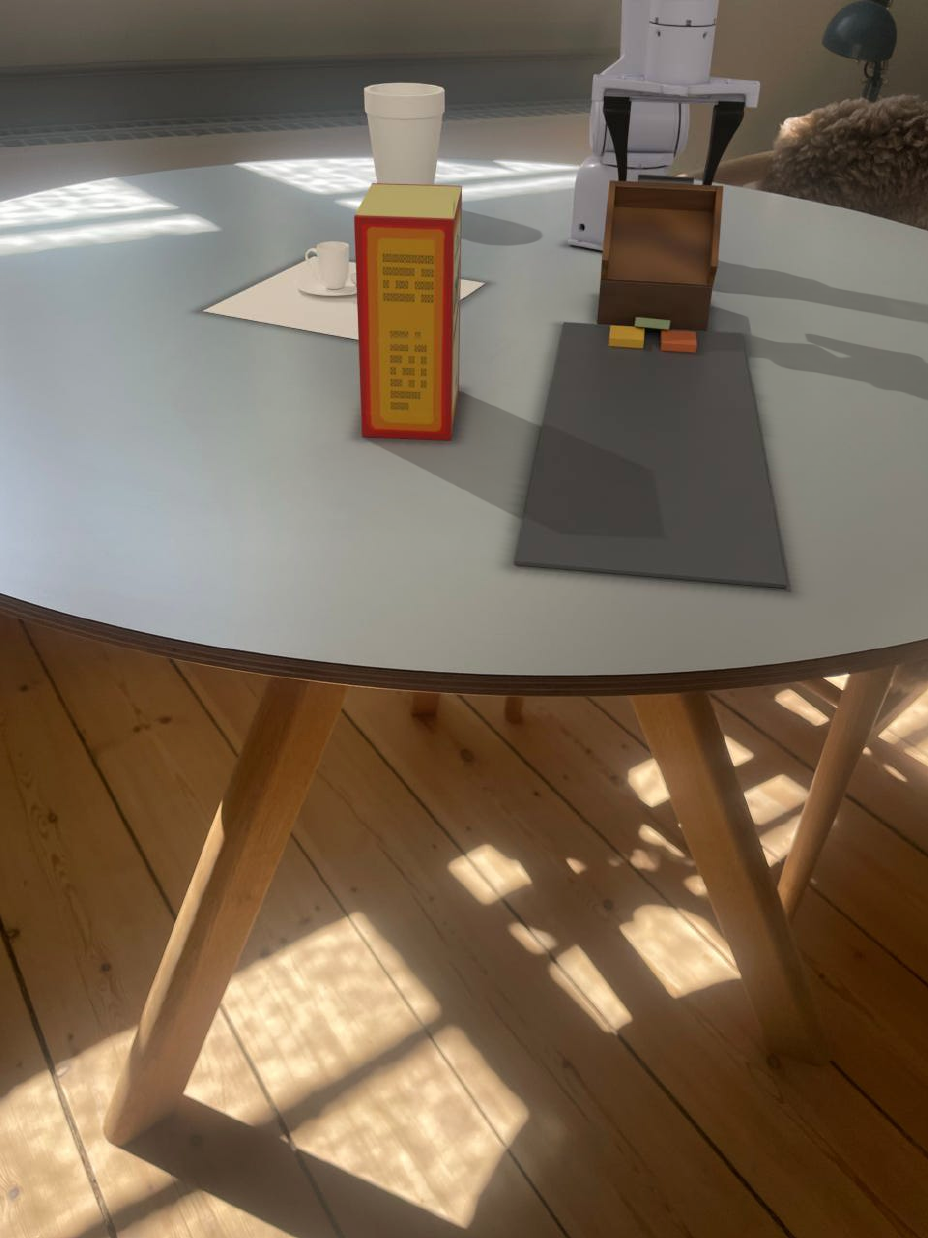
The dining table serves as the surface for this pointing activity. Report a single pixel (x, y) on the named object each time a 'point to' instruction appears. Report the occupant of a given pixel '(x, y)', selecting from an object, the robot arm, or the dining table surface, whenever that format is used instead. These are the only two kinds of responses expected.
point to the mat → (651, 464)
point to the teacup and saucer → (309, 295)
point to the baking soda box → (409, 309)
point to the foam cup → (405, 130)
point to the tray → (662, 231)
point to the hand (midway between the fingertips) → (663, 187)
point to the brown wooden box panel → (654, 303)
